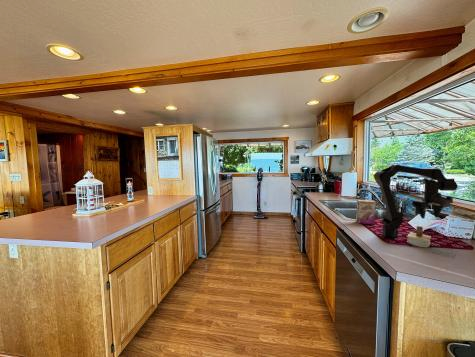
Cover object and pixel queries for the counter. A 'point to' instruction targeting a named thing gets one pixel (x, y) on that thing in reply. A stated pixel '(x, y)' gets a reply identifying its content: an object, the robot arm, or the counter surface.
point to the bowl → (418, 242)
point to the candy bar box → (365, 212)
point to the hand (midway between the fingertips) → (429, 217)
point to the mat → (443, 252)
